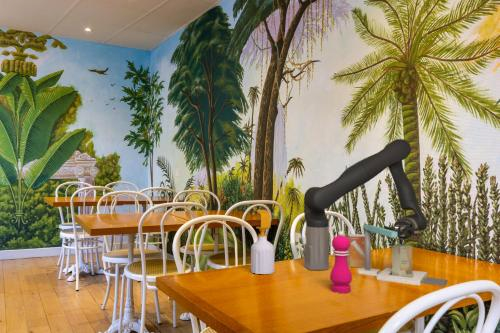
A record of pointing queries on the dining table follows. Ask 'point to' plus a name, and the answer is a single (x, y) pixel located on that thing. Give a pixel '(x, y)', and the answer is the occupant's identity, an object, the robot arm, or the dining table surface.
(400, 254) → the skincare box
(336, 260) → the pepper mill
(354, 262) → the small box
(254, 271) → the soap bottle
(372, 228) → the swing bar
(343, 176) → the robot arm
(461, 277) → the dining table surface
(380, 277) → the holder
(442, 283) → the coaster
